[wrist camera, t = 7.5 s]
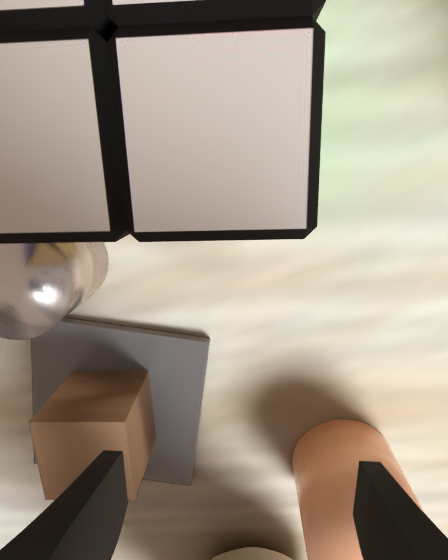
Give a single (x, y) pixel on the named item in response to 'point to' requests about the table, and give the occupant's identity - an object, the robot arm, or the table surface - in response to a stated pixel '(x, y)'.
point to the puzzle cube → (159, 119)
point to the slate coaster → (133, 357)
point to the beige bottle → (251, 554)
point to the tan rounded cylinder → (336, 483)
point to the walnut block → (94, 427)
